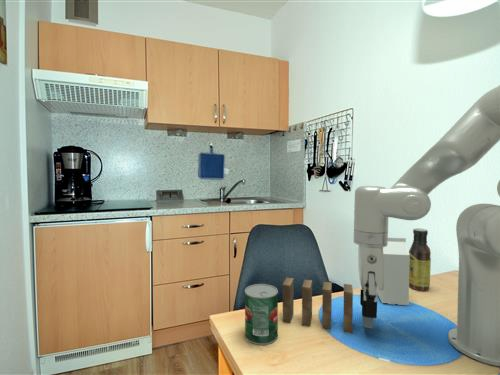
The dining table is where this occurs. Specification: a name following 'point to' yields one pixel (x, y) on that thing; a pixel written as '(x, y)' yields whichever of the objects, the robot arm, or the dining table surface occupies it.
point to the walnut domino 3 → (326, 305)
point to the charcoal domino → (367, 321)
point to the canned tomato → (261, 314)
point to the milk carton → (395, 273)
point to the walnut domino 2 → (307, 303)
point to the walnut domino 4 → (348, 308)
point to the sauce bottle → (419, 261)
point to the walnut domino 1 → (288, 299)
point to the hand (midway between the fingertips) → (368, 310)
